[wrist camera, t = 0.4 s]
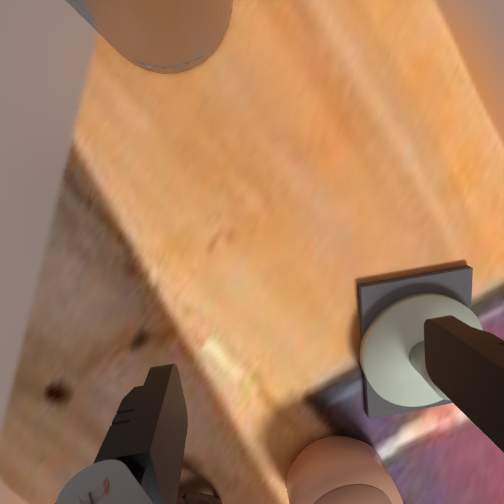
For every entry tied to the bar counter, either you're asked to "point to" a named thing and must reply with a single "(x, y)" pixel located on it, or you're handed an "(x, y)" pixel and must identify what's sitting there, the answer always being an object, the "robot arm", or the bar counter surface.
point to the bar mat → (389, 291)
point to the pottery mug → (198, 499)
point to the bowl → (340, 474)
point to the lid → (406, 348)
